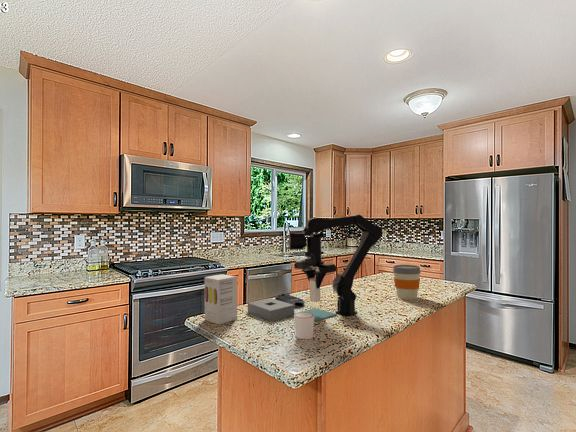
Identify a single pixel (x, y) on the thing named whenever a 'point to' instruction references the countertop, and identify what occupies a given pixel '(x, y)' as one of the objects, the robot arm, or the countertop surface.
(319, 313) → the mat
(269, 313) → the grey flat block
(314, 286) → the plug
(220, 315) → the supplement box
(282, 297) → the electronic device
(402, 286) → the reusable coffee cup
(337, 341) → the countertop surface
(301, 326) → the white cylinder
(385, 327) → the countertop surface
